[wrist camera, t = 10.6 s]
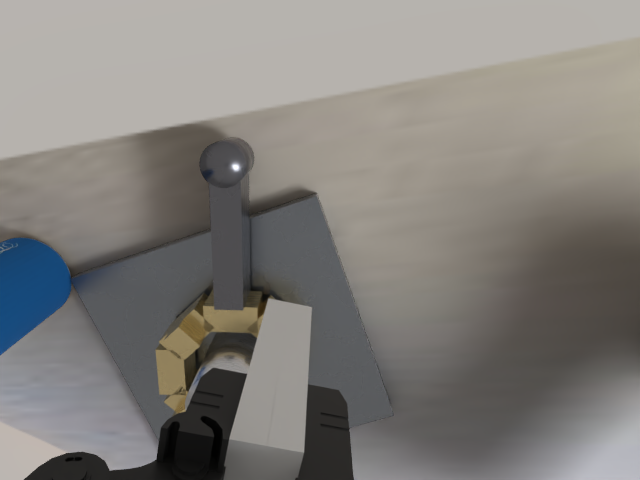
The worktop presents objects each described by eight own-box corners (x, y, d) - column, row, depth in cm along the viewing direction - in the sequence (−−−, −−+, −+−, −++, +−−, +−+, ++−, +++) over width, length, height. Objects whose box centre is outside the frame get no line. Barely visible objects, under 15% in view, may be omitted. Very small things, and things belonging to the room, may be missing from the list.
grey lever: (306, 413, 37) (304, 449, 33) (174, 410, 37) (157, 445, 33) (314, 139, 30) (312, 145, 27) (153, 134, 30) (128, 139, 27)
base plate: (316, 192, 33) (315, 220, 25) (391, 406, 39) (409, 483, 31) (78, 273, 35) (9, 322, 27) (182, 465, 41) (149, 551, 33)
